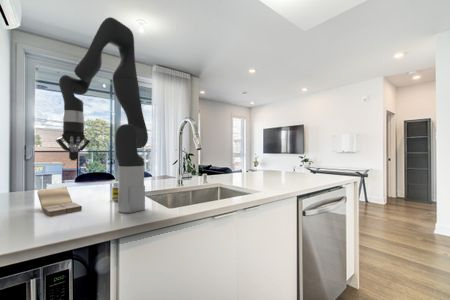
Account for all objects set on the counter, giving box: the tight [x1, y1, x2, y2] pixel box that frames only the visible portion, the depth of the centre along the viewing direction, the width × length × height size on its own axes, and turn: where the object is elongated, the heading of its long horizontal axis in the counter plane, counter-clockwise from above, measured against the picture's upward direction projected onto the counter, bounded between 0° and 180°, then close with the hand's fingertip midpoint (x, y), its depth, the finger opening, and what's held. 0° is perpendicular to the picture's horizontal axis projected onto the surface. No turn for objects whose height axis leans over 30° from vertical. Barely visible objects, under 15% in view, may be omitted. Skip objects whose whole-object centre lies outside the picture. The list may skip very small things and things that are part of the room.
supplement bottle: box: [111, 181, 118, 202], centre depth 99 cm, size 5×5×8 cm
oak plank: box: [37, 186, 73, 211], centre depth 86 cm, size 10×10×2 cm
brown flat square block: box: [42, 201, 83, 217], centre depth 80 cm, size 10×10×2 cm
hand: (73, 160), depth 93 cm, fingers closed
